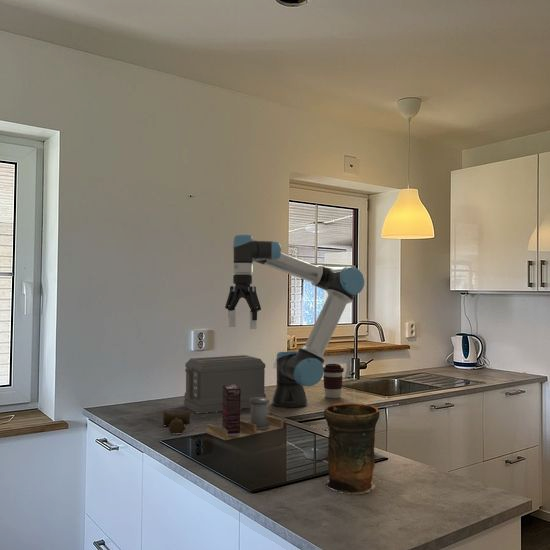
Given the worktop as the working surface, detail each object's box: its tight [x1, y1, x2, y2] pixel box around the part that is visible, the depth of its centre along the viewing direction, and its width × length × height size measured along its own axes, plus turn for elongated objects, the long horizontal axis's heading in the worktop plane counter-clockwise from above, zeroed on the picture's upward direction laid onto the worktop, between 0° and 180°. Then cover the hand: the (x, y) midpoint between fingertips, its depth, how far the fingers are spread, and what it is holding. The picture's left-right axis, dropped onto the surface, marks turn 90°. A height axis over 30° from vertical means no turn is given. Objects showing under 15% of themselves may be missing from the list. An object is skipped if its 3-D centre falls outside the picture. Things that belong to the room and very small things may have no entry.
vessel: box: [323, 402, 380, 496], centre depth 145 cm, size 14×14×20 cm
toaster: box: [183, 354, 267, 414], centre depth 239 cm, size 19×34×20 cm, turn 120°
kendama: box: [162, 409, 191, 434], centre depth 202 cm, size 6×10×20 cm
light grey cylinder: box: [249, 397, 270, 430], centre depth 199 cm, size 7×7×10 cm
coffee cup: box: [322, 363, 345, 399], centre depth 260 cm, size 10×10×15 cm
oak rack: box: [206, 414, 284, 441], centre depth 195 cm, size 25×11×4 cm, turn 130°
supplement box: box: [221, 385, 241, 436], centre depth 191 cm, size 9×5×16 cm, turn 16°
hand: (242, 327), depth 221 cm, fingers open, 13 cm apart
